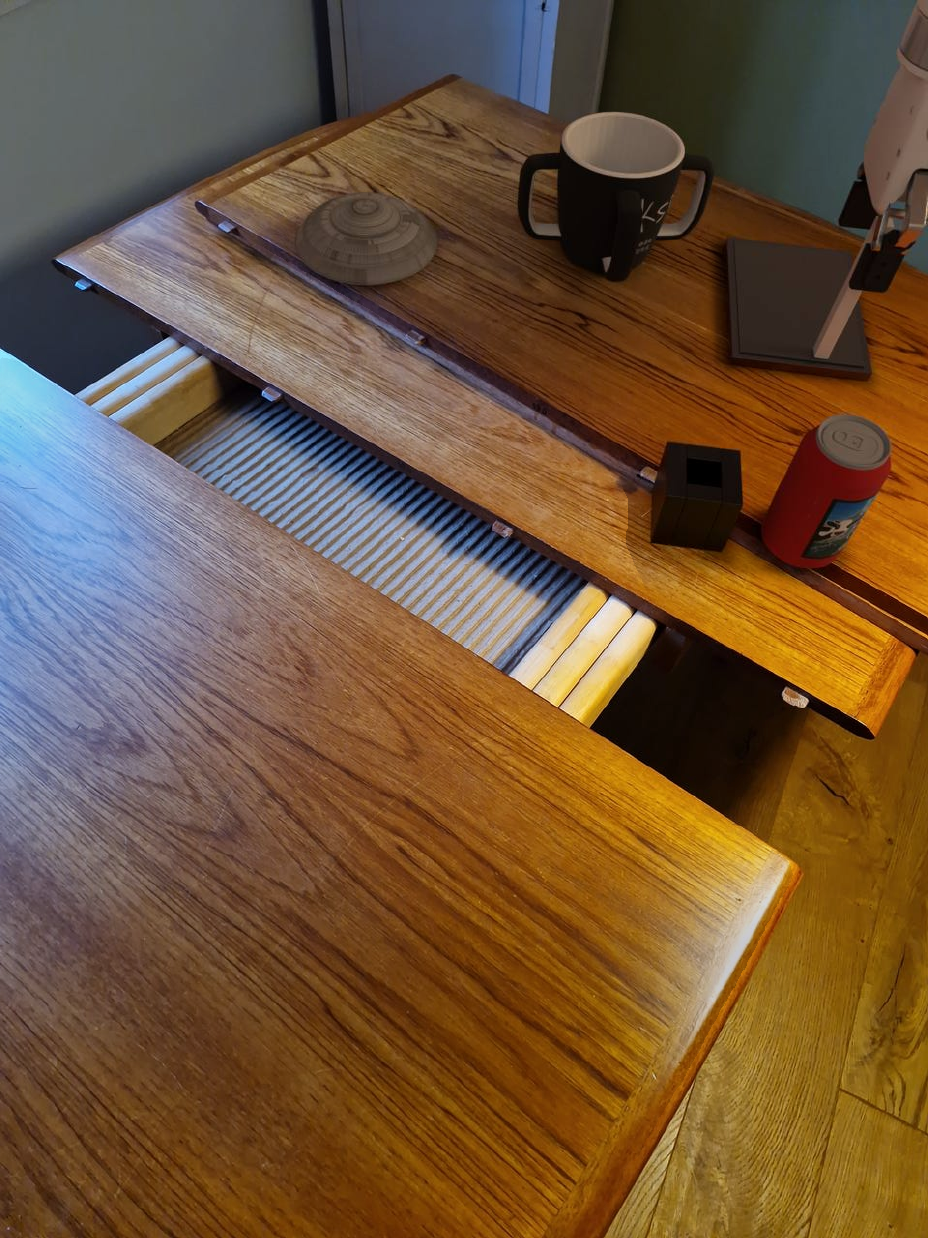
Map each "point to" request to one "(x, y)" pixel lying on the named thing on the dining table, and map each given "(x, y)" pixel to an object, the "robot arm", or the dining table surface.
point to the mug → (614, 191)
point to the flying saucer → (366, 239)
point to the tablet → (790, 309)
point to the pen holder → (696, 496)
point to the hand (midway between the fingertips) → (860, 256)
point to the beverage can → (827, 490)
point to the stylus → (842, 306)
